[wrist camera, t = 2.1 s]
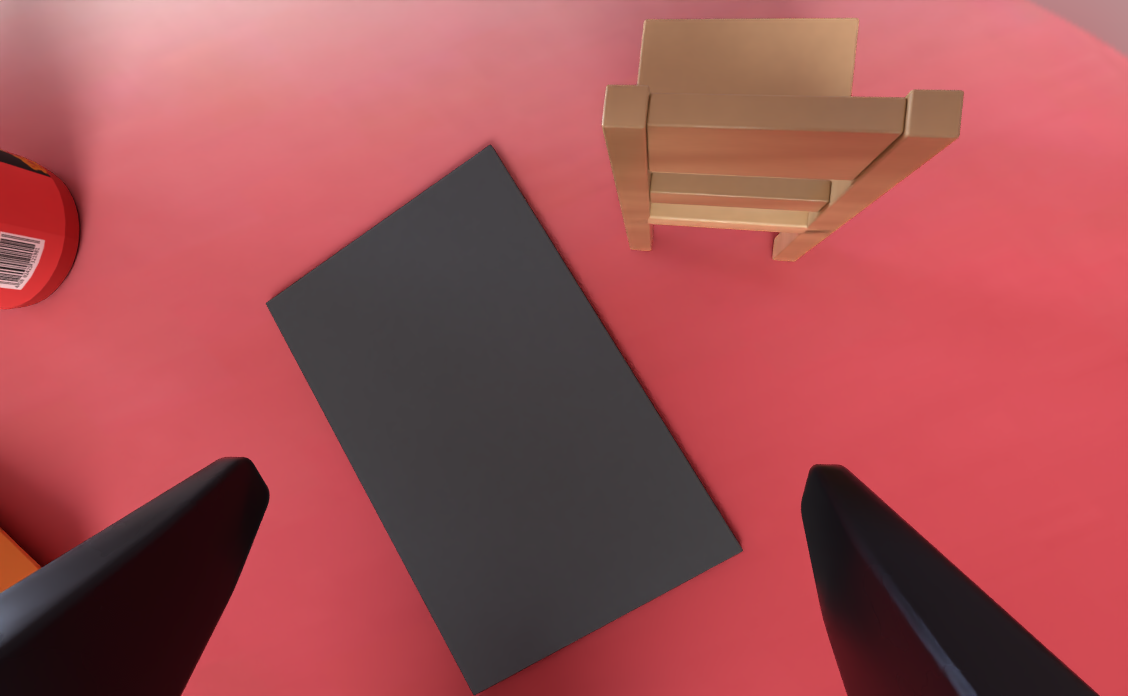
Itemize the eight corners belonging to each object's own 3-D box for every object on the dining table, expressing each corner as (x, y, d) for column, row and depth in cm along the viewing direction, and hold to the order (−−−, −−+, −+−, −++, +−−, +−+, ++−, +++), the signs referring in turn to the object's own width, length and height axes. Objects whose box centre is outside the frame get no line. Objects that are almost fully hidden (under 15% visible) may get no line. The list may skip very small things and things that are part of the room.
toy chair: (795, 261, 21) (960, 138, 9) (630, 249, 22) (600, 126, 11) (812, 98, 21) (996, -218, 10) (647, 95, 22) (636, -190, 11)
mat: (742, 548, 21) (743, 551, 20) (476, 691, 22) (474, 695, 22) (492, 146, 23) (490, 144, 23) (270, 303, 25) (265, 303, 25)
